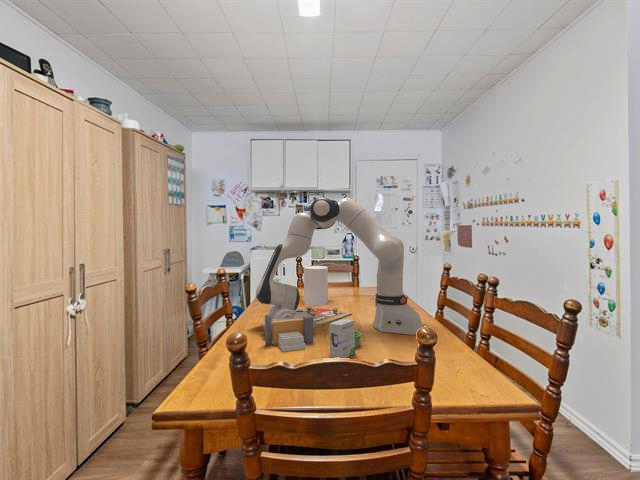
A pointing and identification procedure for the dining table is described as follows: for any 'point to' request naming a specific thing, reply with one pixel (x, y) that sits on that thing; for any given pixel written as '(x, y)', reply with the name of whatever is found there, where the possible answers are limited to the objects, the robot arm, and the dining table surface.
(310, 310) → the knob puzzle
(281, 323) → the tan wooden panel
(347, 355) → the ink box
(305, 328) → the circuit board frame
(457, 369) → the dining table surface
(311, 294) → the canister
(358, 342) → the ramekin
